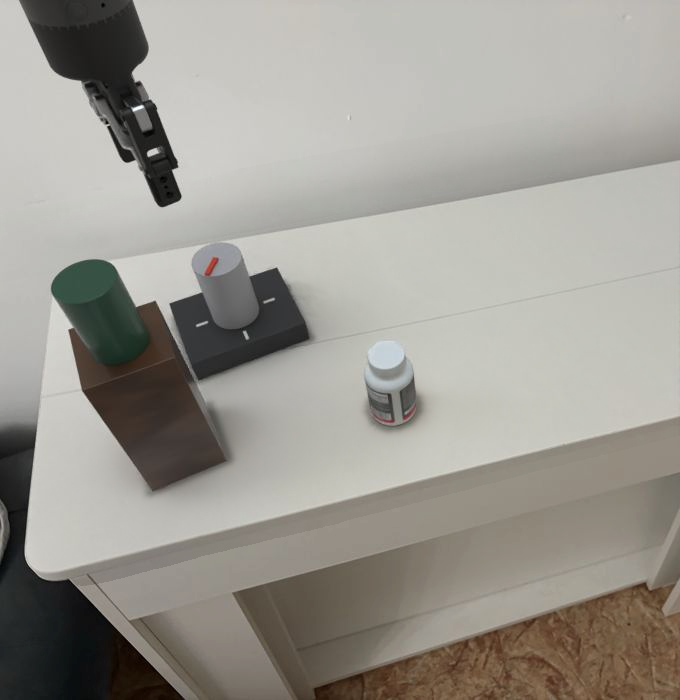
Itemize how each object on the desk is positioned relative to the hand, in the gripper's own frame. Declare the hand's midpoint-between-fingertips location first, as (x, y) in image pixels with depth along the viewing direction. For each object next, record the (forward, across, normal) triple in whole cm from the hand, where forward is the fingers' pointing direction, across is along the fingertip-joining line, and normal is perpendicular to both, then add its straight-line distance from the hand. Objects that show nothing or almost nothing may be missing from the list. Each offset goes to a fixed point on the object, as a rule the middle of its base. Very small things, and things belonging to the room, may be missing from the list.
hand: (151, 179), depth 65 cm
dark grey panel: (+27, +4, -4) cm, 28 cm away
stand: (+27, -8, +9) cm, 30 cm away
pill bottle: (+28, -18, -12) cm, 35 cm away
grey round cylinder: (+24, +4, -4) cm, 25 cm away
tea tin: (+9, -8, +9) cm, 15 cm away
